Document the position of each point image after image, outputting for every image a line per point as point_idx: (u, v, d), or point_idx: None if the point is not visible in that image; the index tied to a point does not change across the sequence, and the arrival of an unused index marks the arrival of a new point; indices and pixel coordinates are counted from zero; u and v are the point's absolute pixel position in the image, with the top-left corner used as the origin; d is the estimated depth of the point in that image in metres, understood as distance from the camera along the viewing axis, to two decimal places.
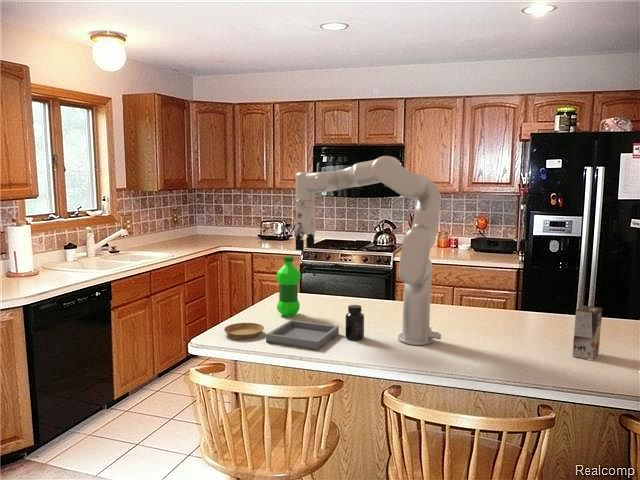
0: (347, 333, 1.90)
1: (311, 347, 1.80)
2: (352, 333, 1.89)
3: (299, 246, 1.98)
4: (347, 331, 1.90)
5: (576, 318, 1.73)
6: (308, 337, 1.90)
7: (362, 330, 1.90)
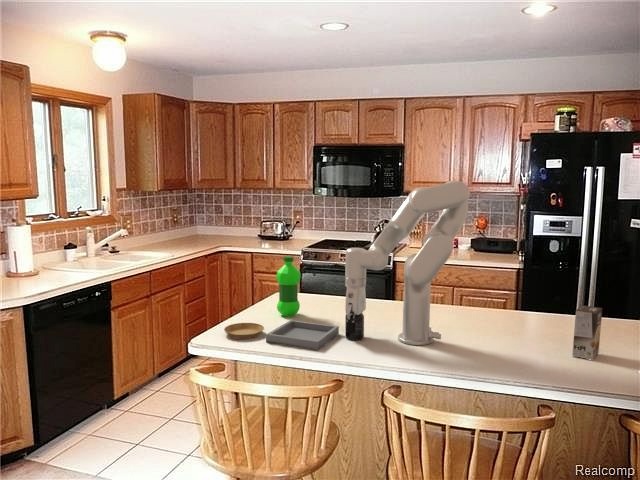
0: (347, 333, 1.90)
1: (311, 347, 1.80)
2: (351, 333, 1.89)
3: (351, 329, 1.87)
4: None
5: (576, 318, 1.73)
6: (308, 337, 1.90)
7: (362, 330, 1.90)
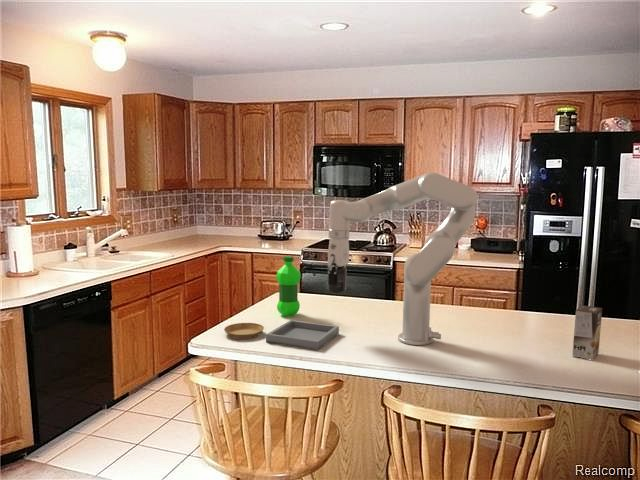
0: (329, 285, 1.90)
1: (311, 347, 1.80)
2: (333, 285, 1.89)
3: (332, 280, 1.87)
4: None
5: (576, 318, 1.73)
6: (308, 337, 1.90)
7: (344, 283, 1.90)
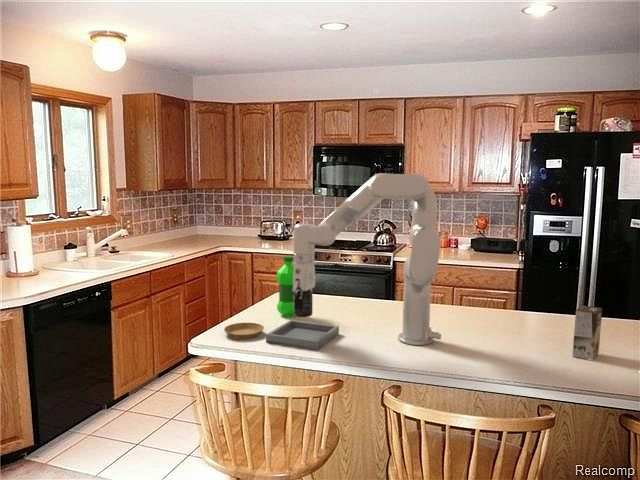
0: (295, 310, 1.88)
1: (311, 347, 1.80)
2: None
3: (298, 305, 1.86)
4: None
5: (576, 318, 1.73)
6: (308, 337, 1.90)
7: (310, 307, 1.88)
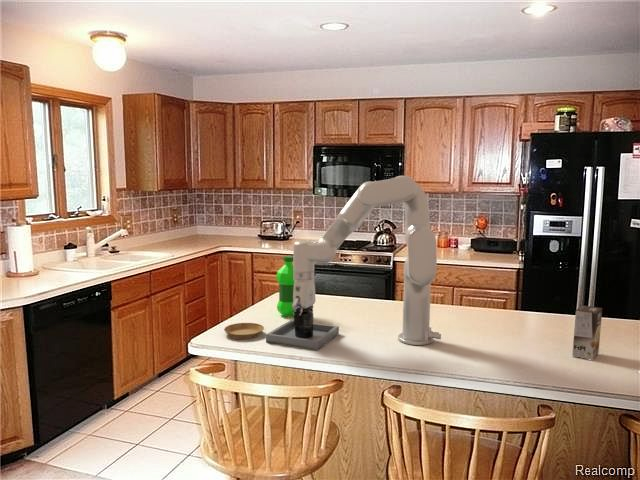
0: (296, 331, 1.90)
1: (311, 347, 1.80)
2: (300, 330, 1.88)
3: (298, 322, 1.86)
4: (296, 329, 1.89)
5: (576, 318, 1.73)
6: None
7: (311, 328, 1.89)
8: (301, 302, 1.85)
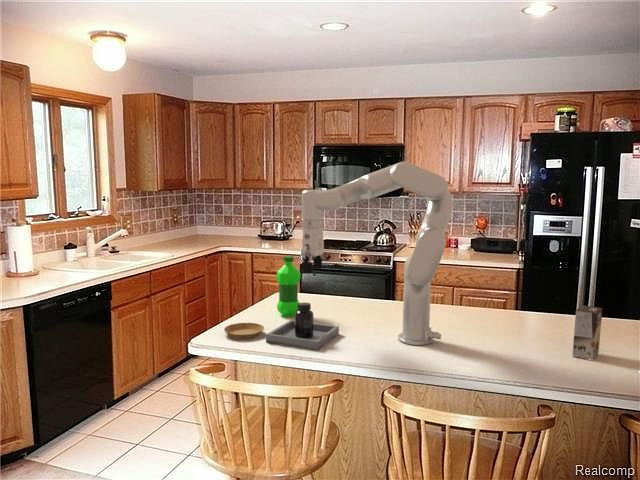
0: (296, 331, 1.90)
1: (311, 347, 1.80)
2: (300, 330, 1.88)
3: (307, 269, 1.85)
4: (296, 329, 1.89)
5: (576, 318, 1.73)
6: None
7: (311, 328, 1.89)
8: (310, 250, 1.85)
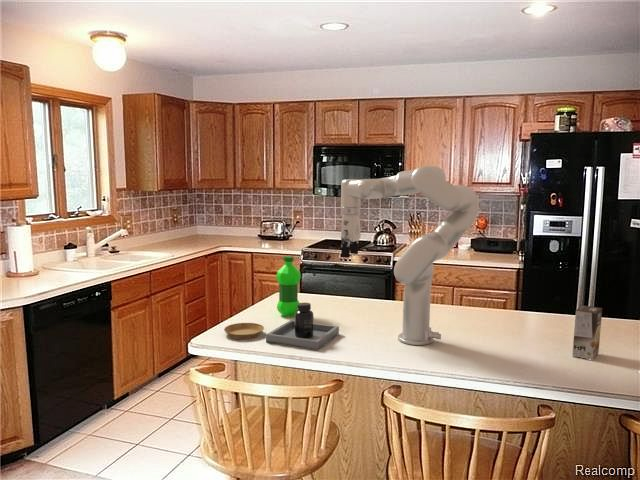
0: (296, 331, 1.90)
1: (311, 347, 1.80)
2: (300, 330, 1.88)
3: (345, 253, 1.98)
4: (296, 329, 1.89)
5: (576, 318, 1.73)
6: None
7: (311, 328, 1.89)
8: (349, 235, 1.97)
